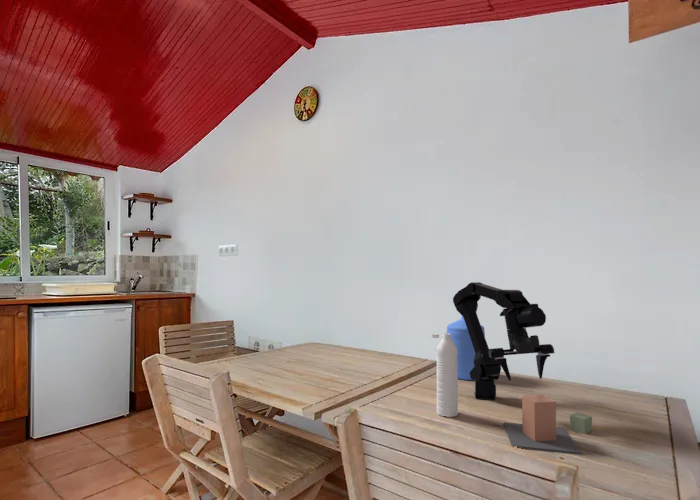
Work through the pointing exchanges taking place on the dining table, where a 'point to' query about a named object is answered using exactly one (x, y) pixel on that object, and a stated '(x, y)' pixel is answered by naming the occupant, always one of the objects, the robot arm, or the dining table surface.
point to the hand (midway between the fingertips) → (525, 379)
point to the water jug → (463, 348)
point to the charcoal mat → (524, 441)
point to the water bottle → (447, 376)
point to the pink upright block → (539, 417)
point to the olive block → (581, 422)
